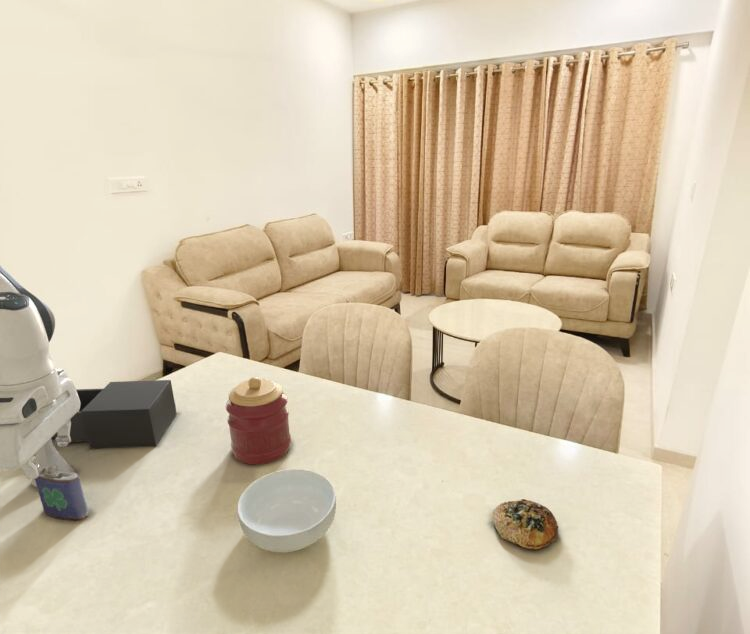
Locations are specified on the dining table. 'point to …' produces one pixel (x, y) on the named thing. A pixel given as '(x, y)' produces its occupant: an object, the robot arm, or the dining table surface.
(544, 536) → the bread roll
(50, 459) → the flask
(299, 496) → the cereal bowl
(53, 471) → the flask
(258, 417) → the kitchen canister
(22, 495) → the dining table surface
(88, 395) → the open drawer
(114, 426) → the dark grey box
